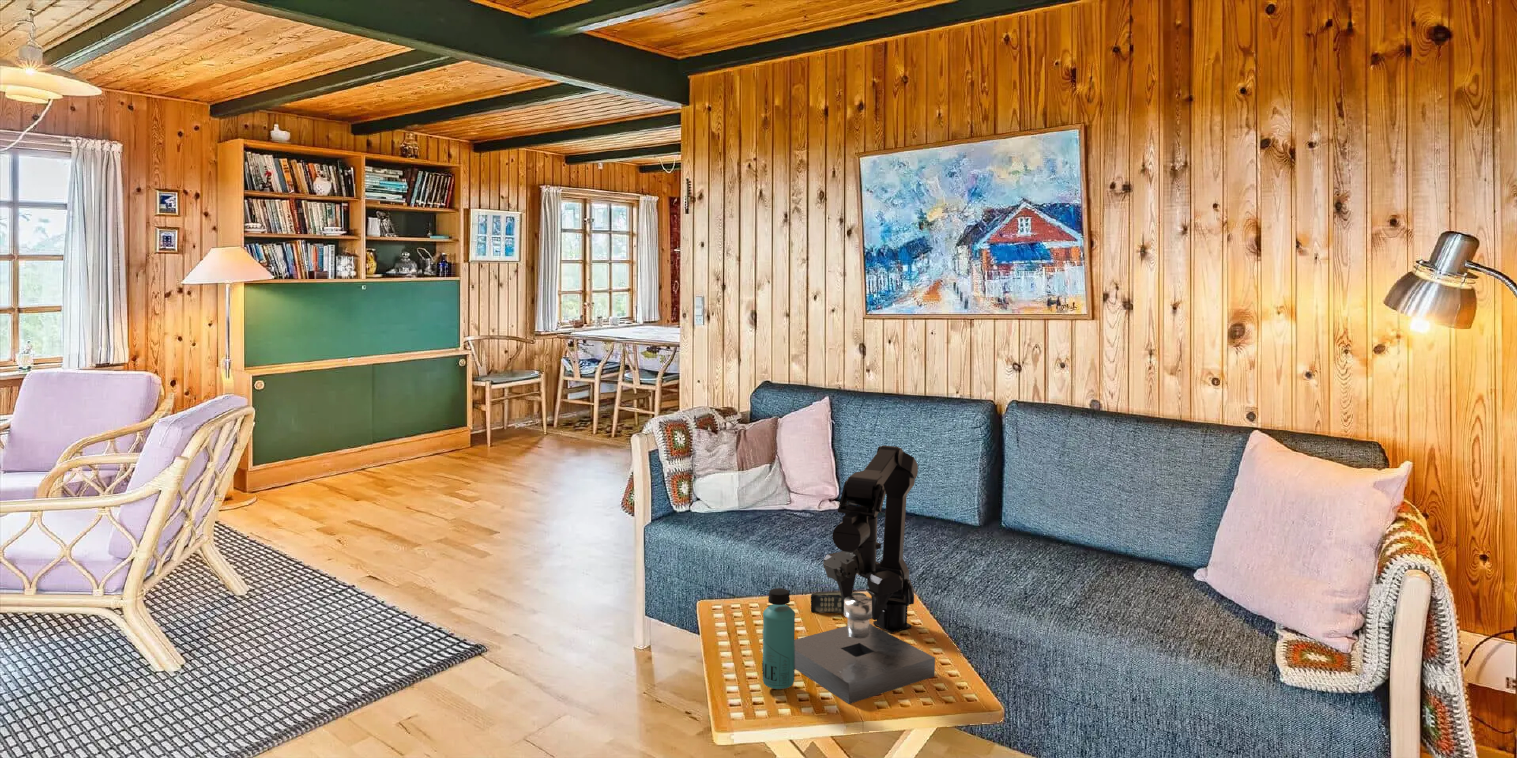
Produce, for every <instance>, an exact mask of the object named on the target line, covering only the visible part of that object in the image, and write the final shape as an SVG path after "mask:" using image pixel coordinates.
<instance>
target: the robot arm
mask: <svg viewBox="0 0 1517 758" xmlns="http://www.w3.org/2000/svg"><path fill="white" fill-rule="evenodd" d="M918 471H919V465H918V463H917V461H916V459H915V457H913V456H912V455H910V454H908V453H907V452H905V451H904V450H903V448H902V447H899V446H895V445H893V446H892V445H879V446H878V447H877V449H876V454H874V456H873V458H872V459H871V460H870V462H869V463H868V464H867V465H866V467H865V468H864V469H863V470H861V471H855V472H853V474H851V475H850V476H849V477H848V478H847V479H846V480H845V482H844V484H843V487H842V492H841V496H840V500H839V504H838V509H837V512H838V514H839V513H840V514H844V515H843V516H842V521H841V522H840V523H838V524H837V525H836V526H835V527H834V529H833V532H832V536H831V537H832V540H833V543H834V545H835V547H836V548H838V549H839V550H840V551H838V552H832V553H828V554H826V555H825V557H824V558H823V562H822V564H823V569H824V570H825V574H826V577H827V578H828V579H832V580H834V581H835V582H836V584H837V586H838V589H839V592H840V593H841V596H842V599H843V603H844V599H845V598H846V597H848V596H852V592H854V591H853V590H854V587H855V582H856V577H857V576H860V577H862V578H863V579H866V580H867V587H868V589H866V592H867V593H868V594H869V595H870V596H871V597H870V598H872V616H873V618H872V620H873V623H872V625H873V626H875V627H876V626H877V628H879V629H881V630H883V631H885V632H887V633H889V634H893V633H896V632H900V631H904V630H908V629H911V628H912V624H911V623H908V607H909V606H910V605H914V604H915V589H914V585H913V583H912V581H911V579H910V569H909V567H908V566H907V564H906V561H905V560H904V546H905V545H904V543H905V528H906V511H907V497H908V494H909V493H910V491H911V490H912V489H913V487H914V485H915V484H916V483H915V481H916V478H917V477H918ZM884 501H885V511H884V514H885V515H884V529H883V531H884V532H883V544H882V543H880V542H878V514H879V513H881V511H882V508H883V505H884ZM882 545H883V548H882ZM881 549H882V559H881V560H880V562H877V550H881Z"/></svg>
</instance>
